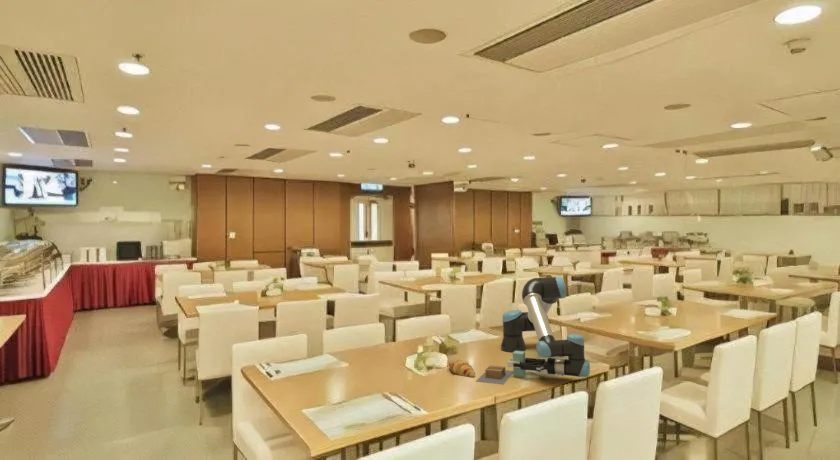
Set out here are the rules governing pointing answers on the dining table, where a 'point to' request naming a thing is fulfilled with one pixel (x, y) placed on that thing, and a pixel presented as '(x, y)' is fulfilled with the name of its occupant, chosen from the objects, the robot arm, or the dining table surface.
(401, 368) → the dining table surface
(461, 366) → the croissant
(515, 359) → the pillar
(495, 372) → the plinth
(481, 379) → the placemat
